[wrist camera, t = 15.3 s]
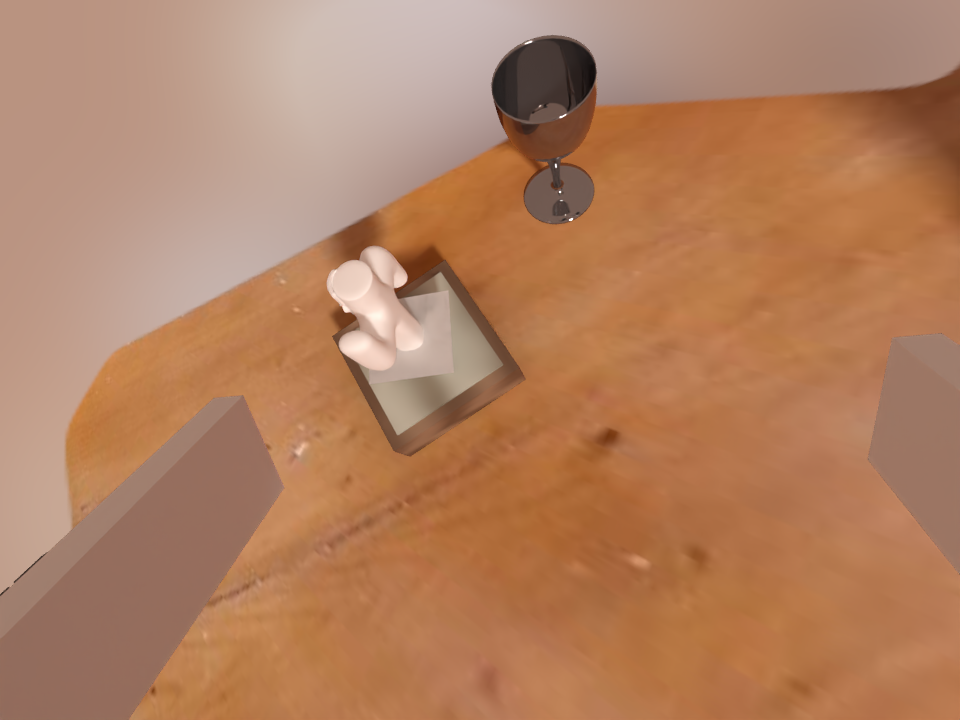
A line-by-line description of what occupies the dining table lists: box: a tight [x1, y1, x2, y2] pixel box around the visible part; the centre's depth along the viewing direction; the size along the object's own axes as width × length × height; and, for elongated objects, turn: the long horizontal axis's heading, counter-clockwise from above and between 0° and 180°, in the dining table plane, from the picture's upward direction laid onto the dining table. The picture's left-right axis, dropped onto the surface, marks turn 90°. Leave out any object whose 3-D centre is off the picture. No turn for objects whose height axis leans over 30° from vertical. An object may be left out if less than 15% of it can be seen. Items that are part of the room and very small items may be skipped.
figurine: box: [327, 246, 454, 385], centre depth 40 cm, size 7×9×15 cm
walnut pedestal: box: [332, 260, 525, 456], centre depth 49 cm, size 13×13×4 cm
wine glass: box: [492, 35, 597, 224], centre depth 46 cm, size 8×8×15 cm
